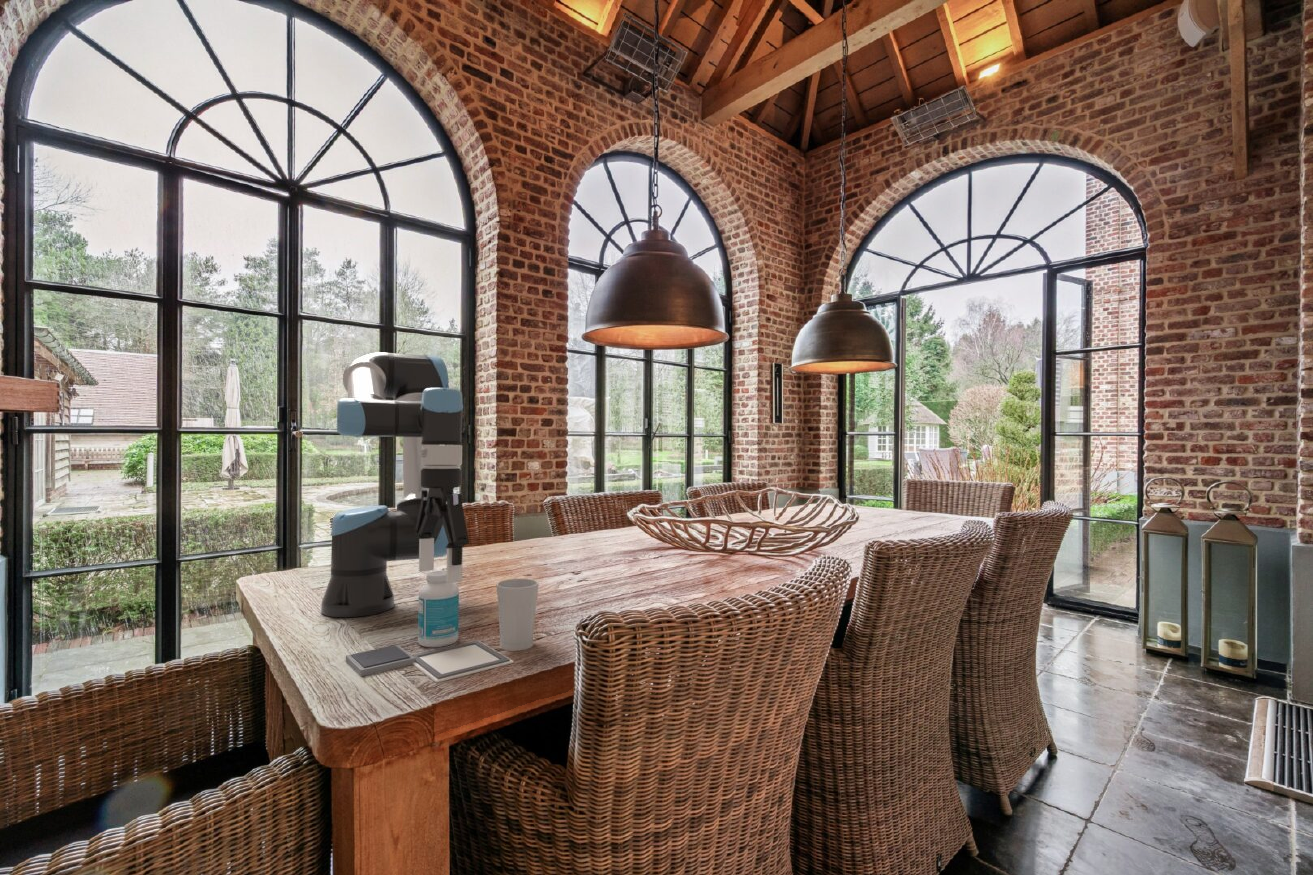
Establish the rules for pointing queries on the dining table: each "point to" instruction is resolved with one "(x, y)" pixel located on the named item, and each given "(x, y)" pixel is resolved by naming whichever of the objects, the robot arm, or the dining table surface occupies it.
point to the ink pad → (379, 660)
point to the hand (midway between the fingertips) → (439, 576)
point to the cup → (517, 613)
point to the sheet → (459, 661)
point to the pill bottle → (438, 611)
